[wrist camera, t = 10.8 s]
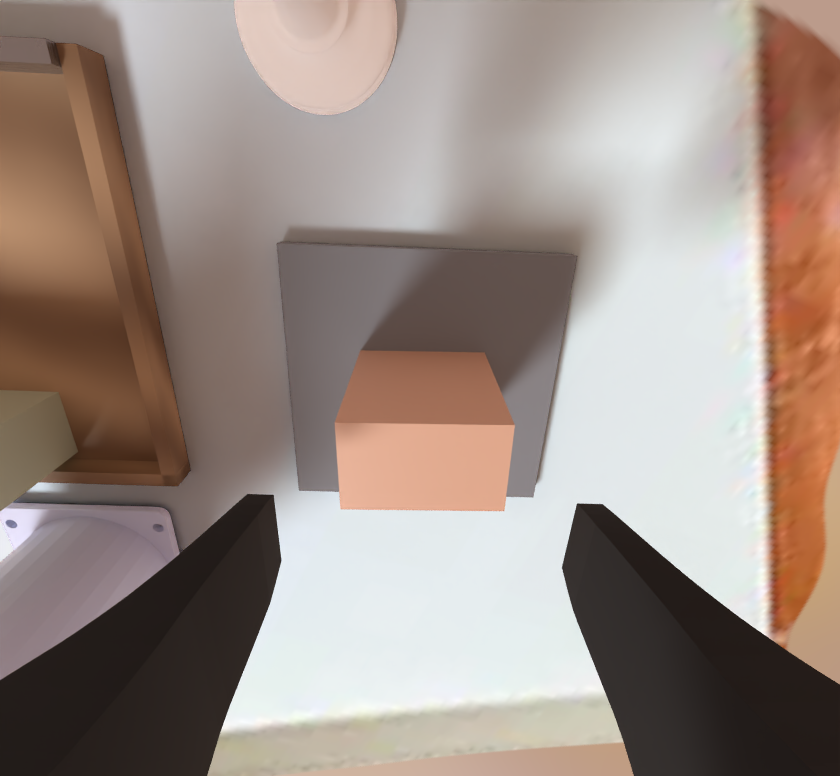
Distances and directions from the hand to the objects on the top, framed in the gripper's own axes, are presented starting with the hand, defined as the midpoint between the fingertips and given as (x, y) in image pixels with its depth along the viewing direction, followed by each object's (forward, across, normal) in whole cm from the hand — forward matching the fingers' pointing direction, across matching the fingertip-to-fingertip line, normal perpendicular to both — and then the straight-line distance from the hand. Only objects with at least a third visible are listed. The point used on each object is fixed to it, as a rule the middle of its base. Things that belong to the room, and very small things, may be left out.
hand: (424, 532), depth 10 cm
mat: (+9, 0, 0) cm, 9 cm away
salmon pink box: (+8, 0, 0) cm, 9 cm away
